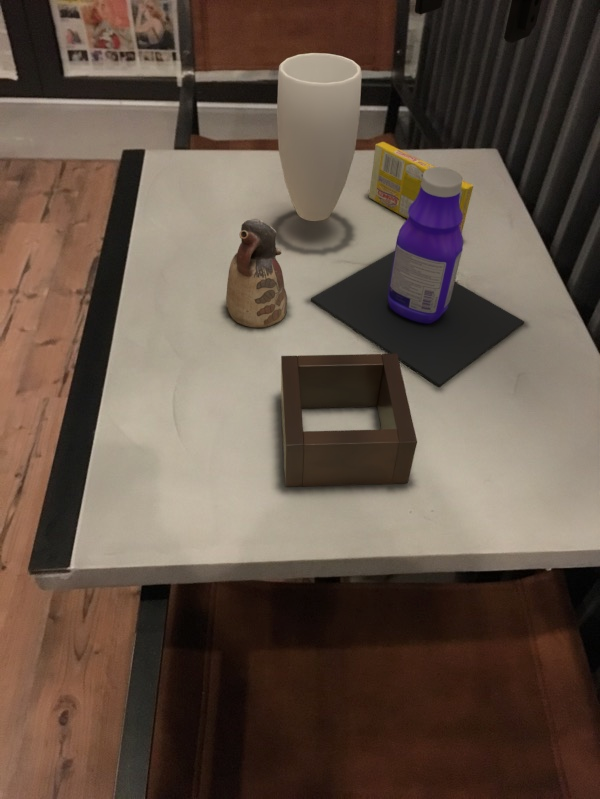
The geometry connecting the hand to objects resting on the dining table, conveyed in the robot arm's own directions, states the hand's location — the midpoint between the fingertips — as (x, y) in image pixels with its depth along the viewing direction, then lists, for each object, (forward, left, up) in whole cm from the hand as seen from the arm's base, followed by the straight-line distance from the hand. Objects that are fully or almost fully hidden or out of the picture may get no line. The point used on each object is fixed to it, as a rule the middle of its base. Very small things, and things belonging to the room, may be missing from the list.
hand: (470, 24), depth 61 cm
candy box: (+13, -15, -32) cm, 37 cm away
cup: (+20, -2, -32) cm, 38 cm away
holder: (-9, +22, -32) cm, 40 cm away
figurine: (+12, +15, -32) cm, 37 cm away
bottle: (-1, +1, -31) cm, 31 cm away
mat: (-1, +1, -32) cm, 32 cm away
